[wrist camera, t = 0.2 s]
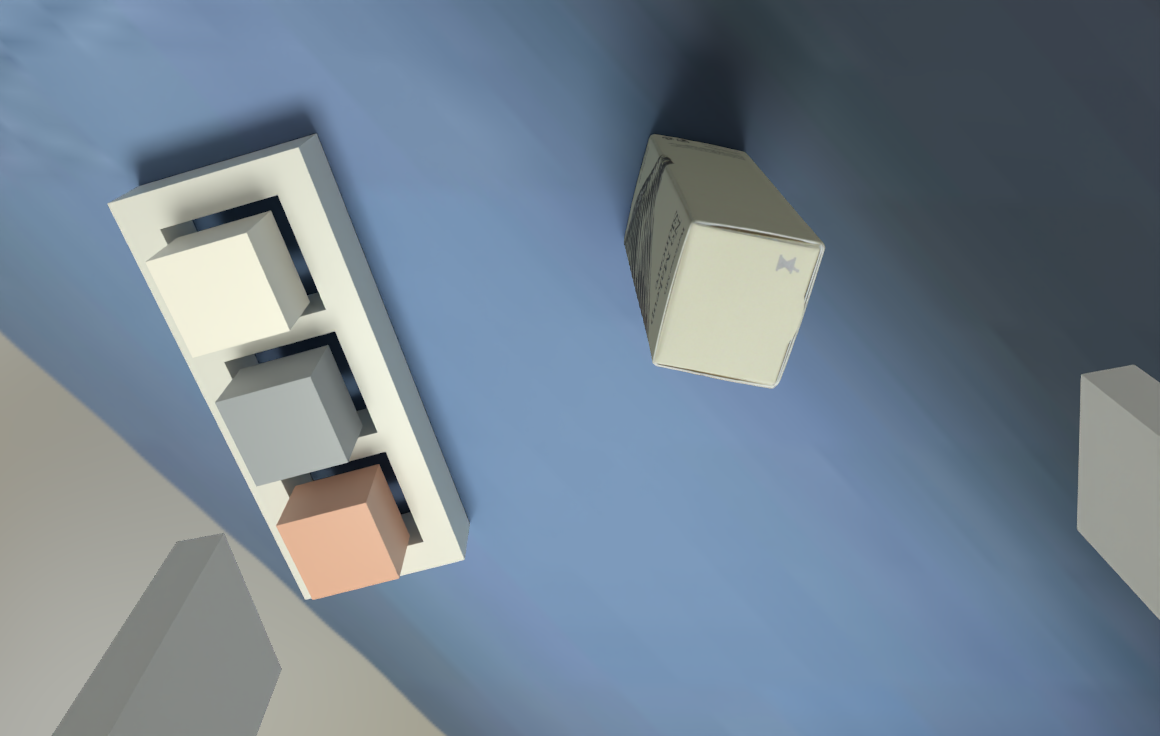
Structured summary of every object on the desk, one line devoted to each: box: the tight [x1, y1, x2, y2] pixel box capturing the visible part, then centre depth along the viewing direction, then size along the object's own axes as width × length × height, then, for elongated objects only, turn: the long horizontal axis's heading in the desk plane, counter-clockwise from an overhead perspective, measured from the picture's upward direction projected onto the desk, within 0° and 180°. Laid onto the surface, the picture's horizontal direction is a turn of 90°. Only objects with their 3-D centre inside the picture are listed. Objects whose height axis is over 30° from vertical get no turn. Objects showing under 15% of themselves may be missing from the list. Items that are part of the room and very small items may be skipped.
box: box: [624, 134, 825, 388], centre depth 34 cm, size 5×4×13 cm
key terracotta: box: [276, 464, 410, 600], centre depth 41 cm, size 4×4×3 cm
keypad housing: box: [108, 133, 470, 600], centre depth 41 cm, size 20×8×3 cm, turn 16°
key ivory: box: [145, 211, 310, 358], centre depth 36 cm, size 4×4×3 cm
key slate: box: [215, 345, 363, 487], centre depth 39 cm, size 4×4×3 cm
